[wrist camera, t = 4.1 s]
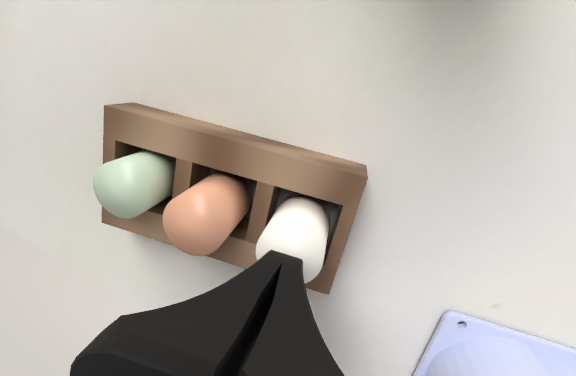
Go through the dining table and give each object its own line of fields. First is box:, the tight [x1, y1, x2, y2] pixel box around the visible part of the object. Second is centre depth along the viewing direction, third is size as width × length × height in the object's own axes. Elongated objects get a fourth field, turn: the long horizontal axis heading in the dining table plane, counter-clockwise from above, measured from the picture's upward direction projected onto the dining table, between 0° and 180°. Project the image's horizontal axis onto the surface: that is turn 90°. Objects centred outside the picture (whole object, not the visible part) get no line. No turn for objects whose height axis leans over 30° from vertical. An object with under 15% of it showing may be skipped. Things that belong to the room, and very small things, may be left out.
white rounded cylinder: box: [256, 194, 330, 283], centre depth 16 cm, size 3×3×4 cm
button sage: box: [93, 149, 176, 219], centre depth 18 cm, size 3×3×4 cm
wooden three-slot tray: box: [102, 103, 368, 295], centre depth 18 cm, size 14×7×2 cm, turn 77°
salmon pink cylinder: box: [163, 172, 251, 256], centre depth 16 cm, size 3×3×4 cm
